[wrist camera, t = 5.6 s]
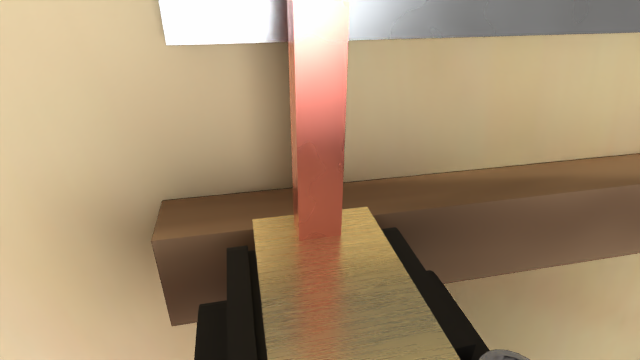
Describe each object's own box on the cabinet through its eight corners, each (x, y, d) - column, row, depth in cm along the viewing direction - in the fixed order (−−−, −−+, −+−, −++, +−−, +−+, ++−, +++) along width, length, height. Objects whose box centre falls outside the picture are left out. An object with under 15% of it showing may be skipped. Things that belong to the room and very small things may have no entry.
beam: (736, 212, 18) (846, 263, 15) (181, 290, 13) (167, 388, 10) (877, -26, 13) (1078, -26, 10) (112, -32, 9) (49, -35, 6)
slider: (359, 316, 12) (491, 653, 6) (262, 331, 12) (303, 722, 6) (384, -31, 8) (952, -45, 2) (229, -32, 7) (250, -59, 1)
